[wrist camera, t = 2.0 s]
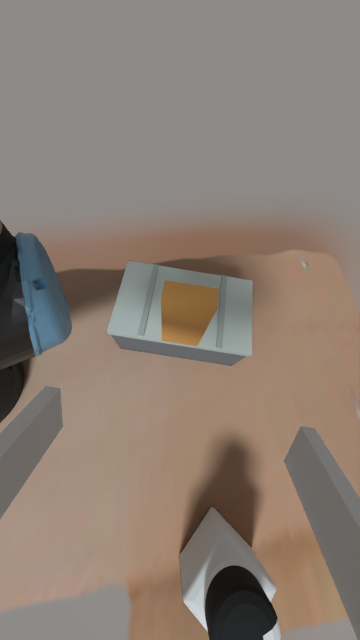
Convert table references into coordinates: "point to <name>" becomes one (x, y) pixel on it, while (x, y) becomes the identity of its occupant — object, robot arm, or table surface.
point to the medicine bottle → (227, 584)
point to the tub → (177, 351)
